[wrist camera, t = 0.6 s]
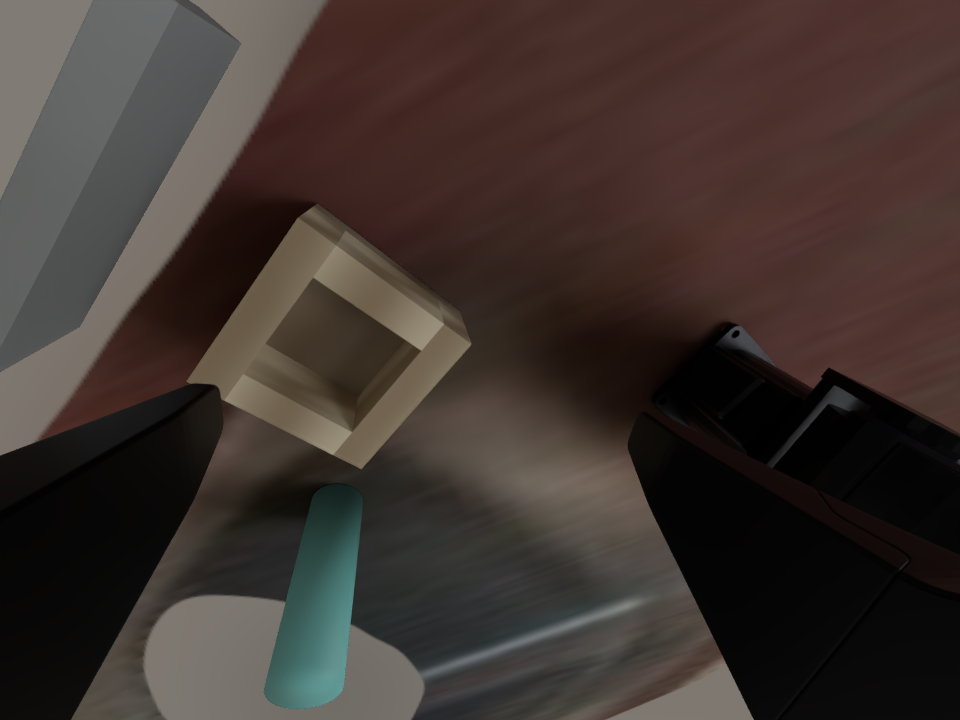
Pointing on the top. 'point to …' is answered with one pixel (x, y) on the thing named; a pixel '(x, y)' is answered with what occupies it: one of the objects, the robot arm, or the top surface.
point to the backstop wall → (100, 159)
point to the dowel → (318, 604)
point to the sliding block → (334, 341)
